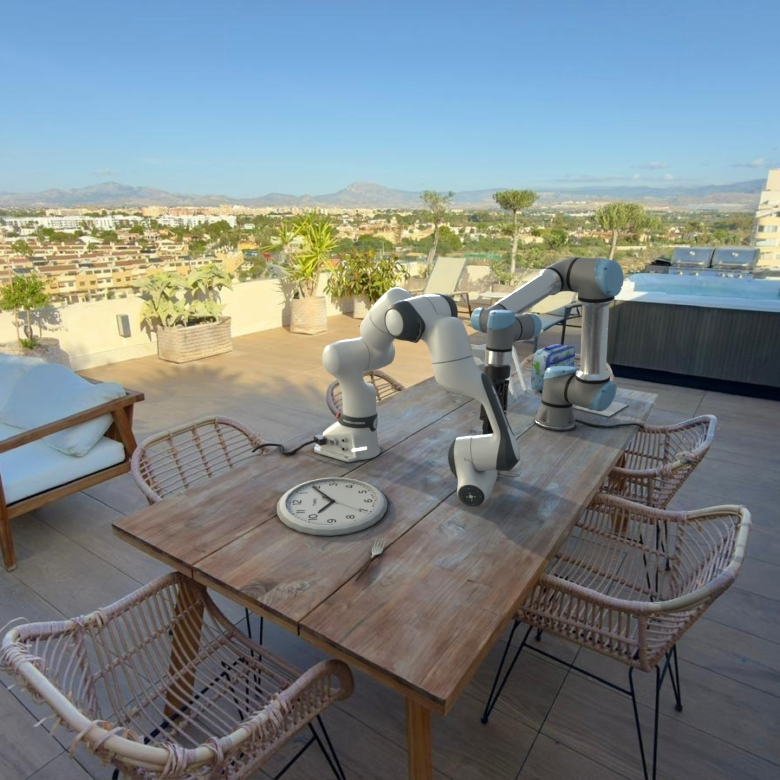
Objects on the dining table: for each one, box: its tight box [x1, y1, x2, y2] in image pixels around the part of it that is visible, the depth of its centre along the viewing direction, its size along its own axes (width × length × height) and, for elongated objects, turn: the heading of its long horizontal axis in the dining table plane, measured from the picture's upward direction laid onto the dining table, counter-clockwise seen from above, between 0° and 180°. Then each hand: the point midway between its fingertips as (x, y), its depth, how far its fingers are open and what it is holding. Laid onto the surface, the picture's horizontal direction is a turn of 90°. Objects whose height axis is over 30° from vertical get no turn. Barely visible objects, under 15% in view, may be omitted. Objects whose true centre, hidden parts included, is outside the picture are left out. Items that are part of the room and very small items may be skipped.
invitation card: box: [573, 400, 629, 418], centre depth 226 cm, size 21×1×15 cm
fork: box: [354, 536, 387, 583], centre depth 118 cm, size 3×16×2 cm, turn 160°
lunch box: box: [530, 343, 576, 392], centre depth 248 cm, size 26×11×21 cm, turn 134°
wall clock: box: [276, 476, 388, 537], centre depth 142 cm, size 30×2×30 cm
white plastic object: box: [471, 343, 531, 400], centre depth 245 cm, size 37×45×31 cm
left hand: (490, 452), depth 162 cm, fingers closed on jar, 5 cm apart
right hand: (491, 437), depth 159 cm, fingers closed on lid, 6 cm apart
